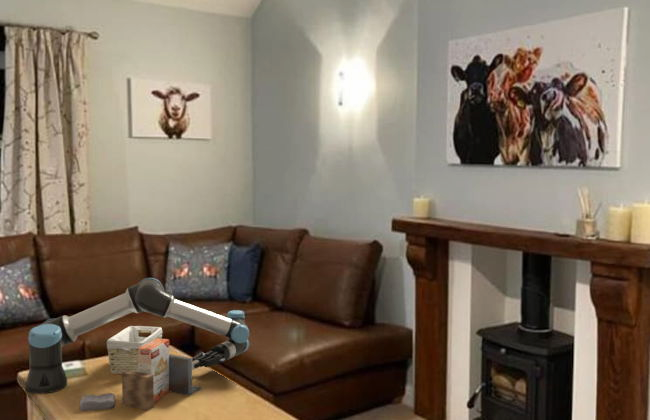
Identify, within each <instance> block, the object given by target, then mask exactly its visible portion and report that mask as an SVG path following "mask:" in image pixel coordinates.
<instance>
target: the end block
mask: <svg viewBox="0 0 650 420" xmlns="http://www.w3.org/2000/svg"><path fill="white" fill-rule="evenodd" d="M121 381H122V382H121V383H122V384H121V385H122V386H121V387H122V388H121V390H122V399H121V401H122V405H123V406H128V407H133V408H135V409H140V410H144V411H150V410H152V409H154V406H155V404H154V403H155V402H154V392H153V375H150V374H145V373H141V372H136V371H131V370H127V371H124V372H122V374H121Z"/></svg>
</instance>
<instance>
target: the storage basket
mask: <svg viewBox="0 0 650 420" xmlns="http://www.w3.org/2000/svg"><path fill="white" fill-rule="evenodd" d="M139 333H143V334H144V333H145V334H146V333H147V334H150V335H149V336H139ZM157 338H158V339H163V329H162V327H161V326H146V325H145V326H142V325H135V326H134V325H129V326H128V327H125V328H123V330H121V331H120V332H119V331H118V332H117V334H115V335H113V336H112V337H110V338H108V339H107V340H106V349H107V355H108V363H109V364H108V365H109V370H110V373H111V374H119V375H122V372H124V371H127V370H131V371H136V372H138V348H140V347H141V346H143V345H145V344H147V343H149V342H151V341H153V340H155V339H157Z"/></svg>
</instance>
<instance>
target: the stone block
mask: <svg viewBox="0 0 650 420" xmlns="http://www.w3.org/2000/svg"><path fill="white" fill-rule="evenodd" d="M115 395H116V394H115V393H102V394H99V395H96V394H95V395H94V394H84V395H83V396H82V398H80V401H79V407H80V408H79V409H80V411H81V412H84V411H85V412H86V411H87V412H88V411H97V410H98V411H99V410H100V411H101V410H109V409H114V408H115V406H116V405H115V402H116V396H115Z"/></svg>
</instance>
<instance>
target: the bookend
mask: <svg viewBox="0 0 650 420" xmlns="http://www.w3.org/2000/svg"><path fill="white" fill-rule="evenodd" d="M192 358H193V357H188V356H182V355H176V354H170V353H169V392H170V393H175V394H179V395H182V396H187V397H189V396H191V395H193V394H195V393H197V392H199V391H201V390H202V389H203V387H202V386H198V385H194V384H193V370H192ZM169 392H168V393H169Z"/></svg>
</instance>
